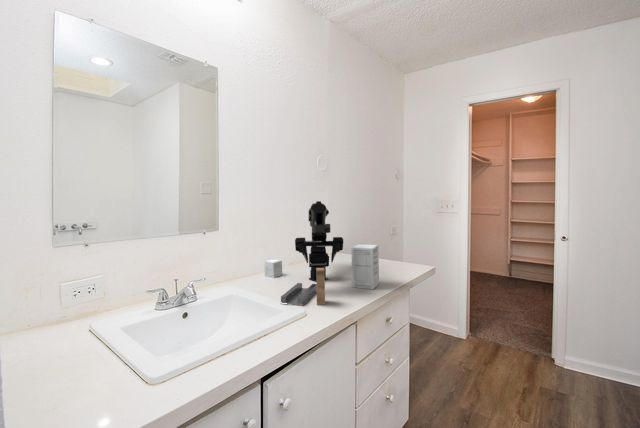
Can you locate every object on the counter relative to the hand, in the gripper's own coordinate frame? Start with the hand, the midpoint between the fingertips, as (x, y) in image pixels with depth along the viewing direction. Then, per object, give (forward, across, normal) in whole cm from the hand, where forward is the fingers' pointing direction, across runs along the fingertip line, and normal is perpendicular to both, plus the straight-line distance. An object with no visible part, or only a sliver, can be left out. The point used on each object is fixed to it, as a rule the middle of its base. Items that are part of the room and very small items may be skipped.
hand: (319, 262), depth 118 cm
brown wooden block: (+14, 0, +4) cm, 15 cm away
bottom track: (+9, -8, +9) cm, 15 cm away
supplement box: (0, +20, +19) cm, 27 cm away
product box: (-14, -21, +32) cm, 41 cm away
